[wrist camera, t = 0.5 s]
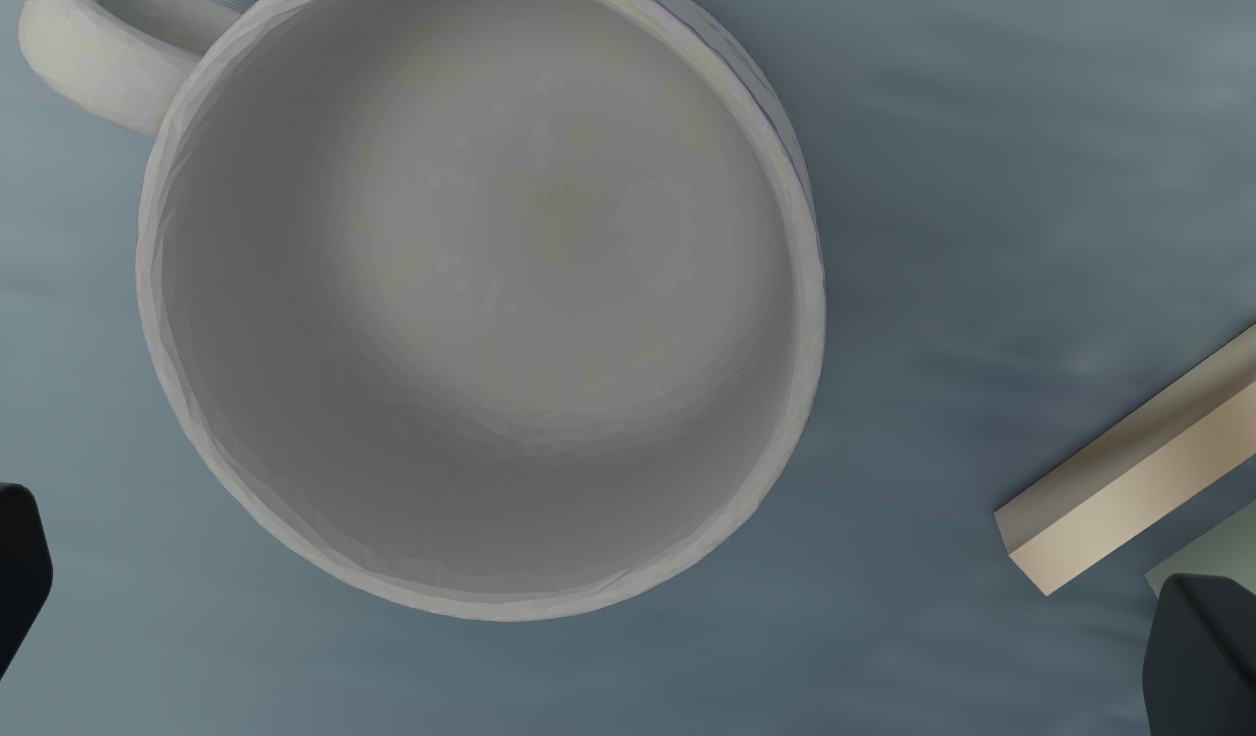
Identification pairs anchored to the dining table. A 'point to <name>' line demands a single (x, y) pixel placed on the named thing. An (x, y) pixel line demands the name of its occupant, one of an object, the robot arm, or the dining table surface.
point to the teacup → (466, 279)
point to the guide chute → (1136, 469)
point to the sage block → (1216, 553)
